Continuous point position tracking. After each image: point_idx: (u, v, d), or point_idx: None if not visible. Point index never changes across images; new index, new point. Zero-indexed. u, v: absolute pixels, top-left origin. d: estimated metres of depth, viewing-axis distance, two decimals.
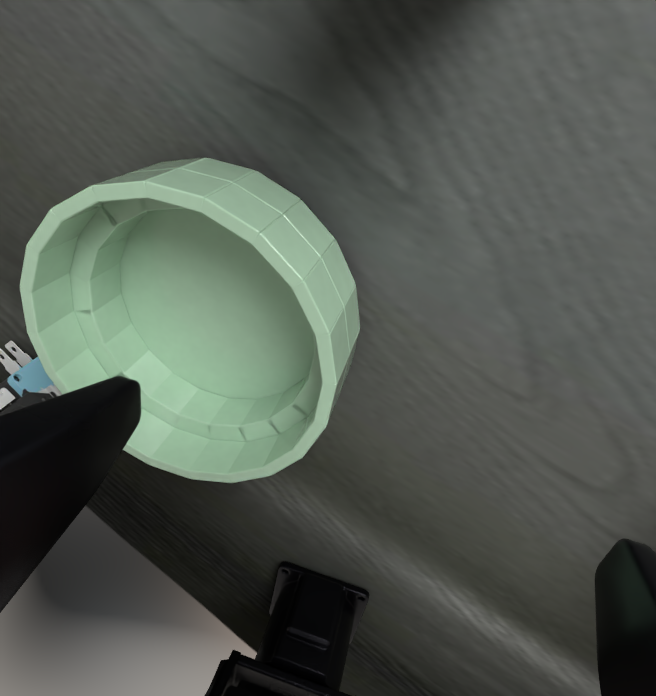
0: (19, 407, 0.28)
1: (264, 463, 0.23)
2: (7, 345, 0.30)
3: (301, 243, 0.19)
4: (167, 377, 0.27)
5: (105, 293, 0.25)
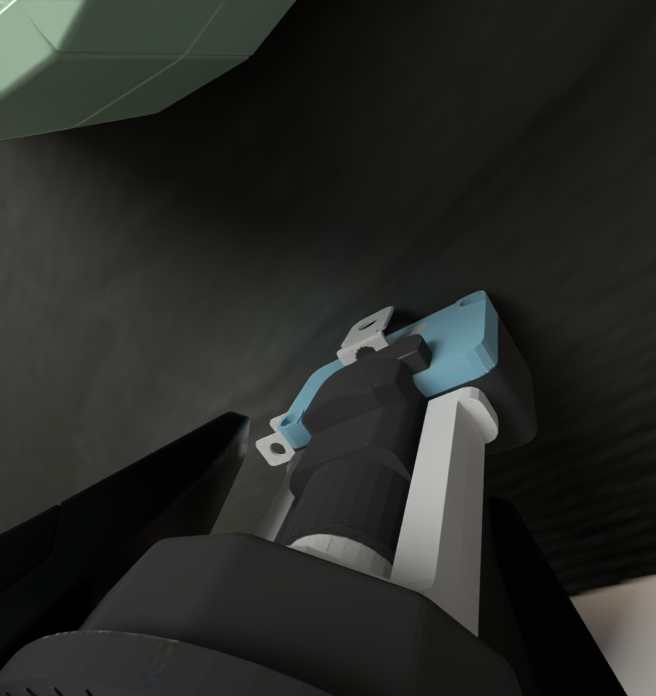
0: (312, 427, 0.09)
1: None
2: None
3: None
4: None
5: None
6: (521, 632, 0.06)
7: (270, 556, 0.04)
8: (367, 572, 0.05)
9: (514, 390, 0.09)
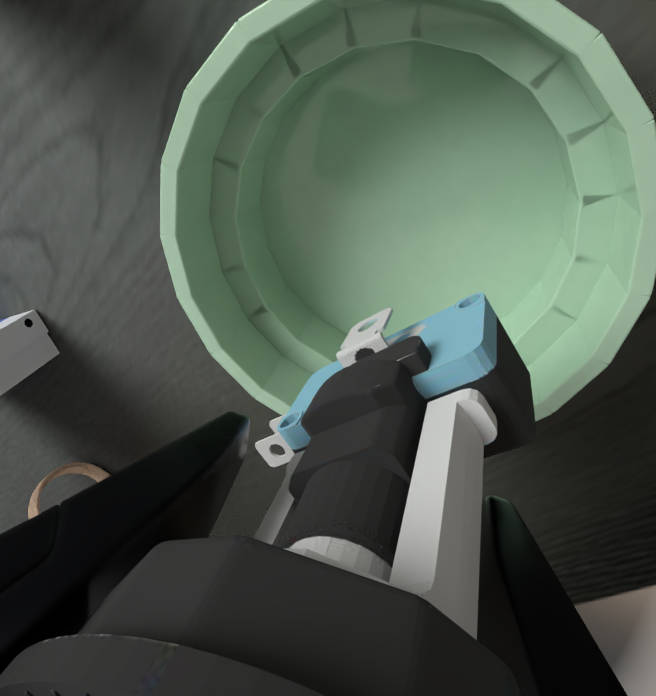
0: (311, 428, 0.09)
1: (623, 131, 0.12)
2: None
3: None
4: (508, 320, 0.19)
5: None
6: (521, 632, 0.06)
7: (270, 560, 0.04)
8: (366, 575, 0.05)
9: (512, 392, 0.09)
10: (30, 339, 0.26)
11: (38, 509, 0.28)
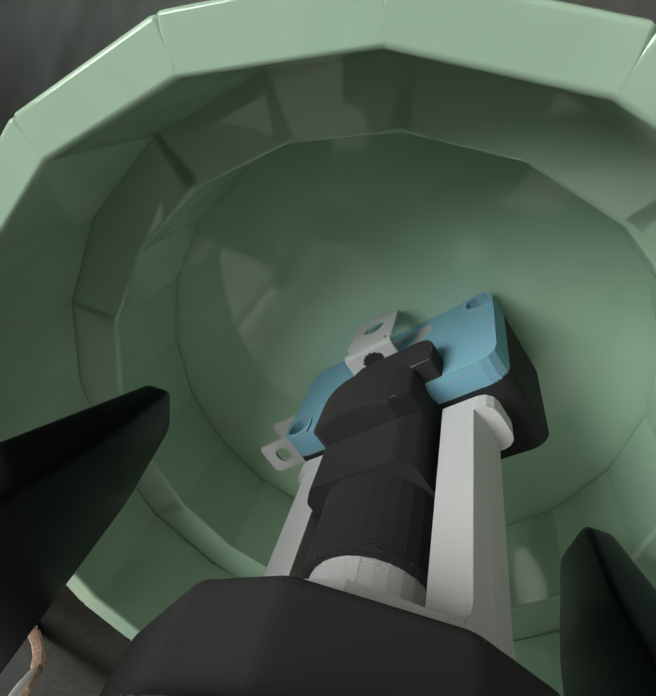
0: (326, 438, 0.08)
1: None
2: None
3: None
4: (554, 526, 0.12)
5: None
6: None
7: (320, 601, 0.04)
8: (408, 603, 0.05)
9: (526, 395, 0.09)
10: None
11: None
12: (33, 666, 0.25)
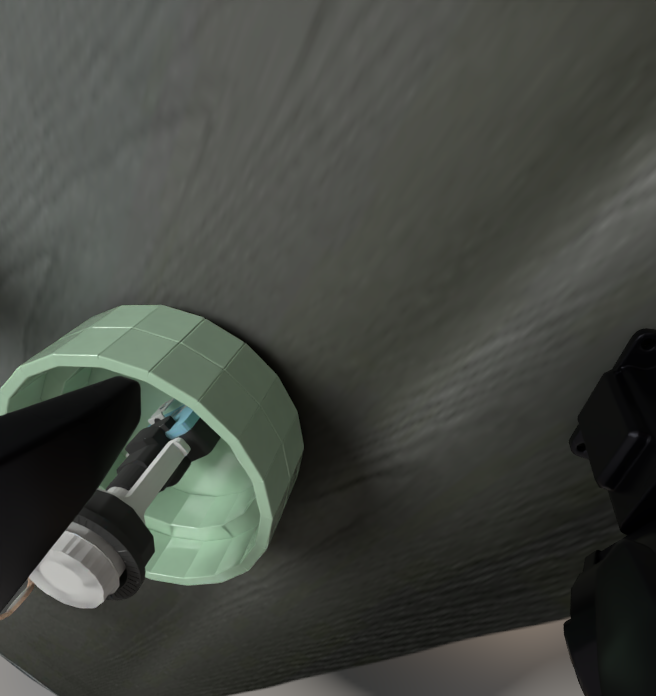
0: (128, 452, 0.24)
1: (229, 439, 0.21)
2: None
3: None
4: None
5: (171, 507, 0.29)
6: None
7: None
8: (111, 493, 0.20)
9: (200, 436, 0.24)
10: None
11: None
12: (28, 586, 0.40)
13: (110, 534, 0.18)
